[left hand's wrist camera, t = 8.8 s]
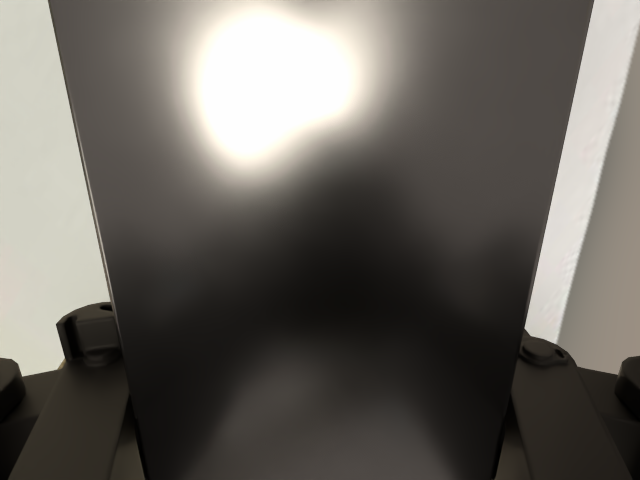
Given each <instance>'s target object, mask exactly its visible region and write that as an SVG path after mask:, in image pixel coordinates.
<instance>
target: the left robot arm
mask: <svg viewBox="0 0 640 480" xmlns="http://www.w3.org/2000/svg"><path fill="white" fill-rule="evenodd" d="M56 326H57V330H58V334H59V337H60V341H61V345H62V348H63V352H64V356H65V359H66V362H65V364H64V366H63V368H62V369H58V370H54V371H49V372H44V373H39V374H34V375H29V376H24V377H22V375H21V372H20V369H19V366H18V364H17V363H16V362H15V361H13V360H12V359H5V358H0V480H148V478H147V473H146V468H145V464H144V459H143V454H142V449H141V444H140V440H139V435H138V430H137V425H136V420H135V416H134V411H133V406H132V401H131V396H130V392H129V387H128V382H127V377H126V372H125V368H124V363H123V358H122V353H121V348H120V344H119V339H118V334H117V329H116V324H115V320H114V315H113V310H112V305H111V302H101V303H96V304H91V305H87V306H85V307H82V308H79V309H76V310H74V311H72V312H70V313H69V314H67V315H65V316H64V317H62V318H61V319H60V320H59V321H58V323H57V324H56ZM492 480H640V356H636V357H628V358H627V359H626V360H624V361H623V362H622V365H621V367H620V371H619V374H618V375H616V374H610V373H605V372H600V371H595V370H590V369H585V368H581V367H577V365H576V363H575V361H574V359H573V358H572V357H571V356H570V355H569V353H568V352H567V351H565V350H564V349H562V348H561V347H559V346H558V345H556V344H554V343H551V342H549V341H547V340H544V339H541V338H536V337H532V336H530V335H529V334H528V332H527V331H526V330H525V329H524V332H523V337H522V341H521V346H520V351H519V355H518V360H517V365H516V370H515V374H514V379H513V384H512V388H511V393H510V398H509V402H508V407H507V412H506V416H505V421H504V426H503V431H502V435H501V440H500V445H499V449H498V454H497V459H496V463H495V468H494V473H493V477H492Z"/></svg>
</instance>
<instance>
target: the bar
mask: <svg viewBox="0 0 640 480" xmlns="http://www.w3.org/2000/svg"><path fill="white" fill-rule="evenodd" d="M48 3H49V8H50V13H51V18H52V22H53V27H54V32H55V37H56V42H57V46H58V51H59V56H60V61H61V66H62V70H63V75H64V80H65V85H66V89H67V94H68V99H69V104H70V109H71V113H72V118H73V123H74V128H75V133H76V137H77V142H78V147H79V152H80V157H81V161H82V166H83V171H84V176H85V181H86V185H87V190H88V195H89V200H90V205H91V209H92V214H93V219H94V224H95V229H96V233H97V238H98V243H99V248H100V253H101V257H102V262H103V267H104V272H105V277H106V281H107V286H108V291H109V296H110V300H111V305H112V310H113V315H114V320H115V324H116V329H117V334H118V339H119V344H120V348H121V353H122V358H123V363H124V368H125V372H126V377H127V382H128V387H129V392H130V396H131V401H132V406H133V411H134V416H135V420H136V425H137V430H138V435H139V440H140V444H141V449H142V454H143V459H144V464H145V468H146V473H147V478H148V480H492V477H493V473H494V468H495V463H496V459H497V454H498V449H499V445H500V440H501V435H502V431H503V426H504V421H505V416H506V412H507V407H508V402H509V398H510V393H511V388H512V384H513V379H514V374H515V370H516V365H517V360H518V355H519V351H520V346H521V341H522V337H523V332H524V327H525V323H526V318H527V313H528V309H529V304H530V299H531V294H532V290H533V285H534V280H535V276H536V271H537V266H538V262H539V257H540V252H541V248H542V243H543V238H544V233H545V229H546V224H547V219H548V215H549V210H550V205H551V201H552V196H553V191H554V187H555V182H556V177H557V172H558V168H559V163H560V158H561V154H562V149H563V144H564V140H565V135H566V130H567V126H568V121H569V116H570V111H571V107H572V102H573V97H574V93H575V88H576V83H577V79H578V74H579V69H580V65H581V60H582V55H583V50H584V46H585V41H586V36H587V32H588V27H589V22H590V18H591V13H592V8H593V4H594V0H48Z"/></svg>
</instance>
